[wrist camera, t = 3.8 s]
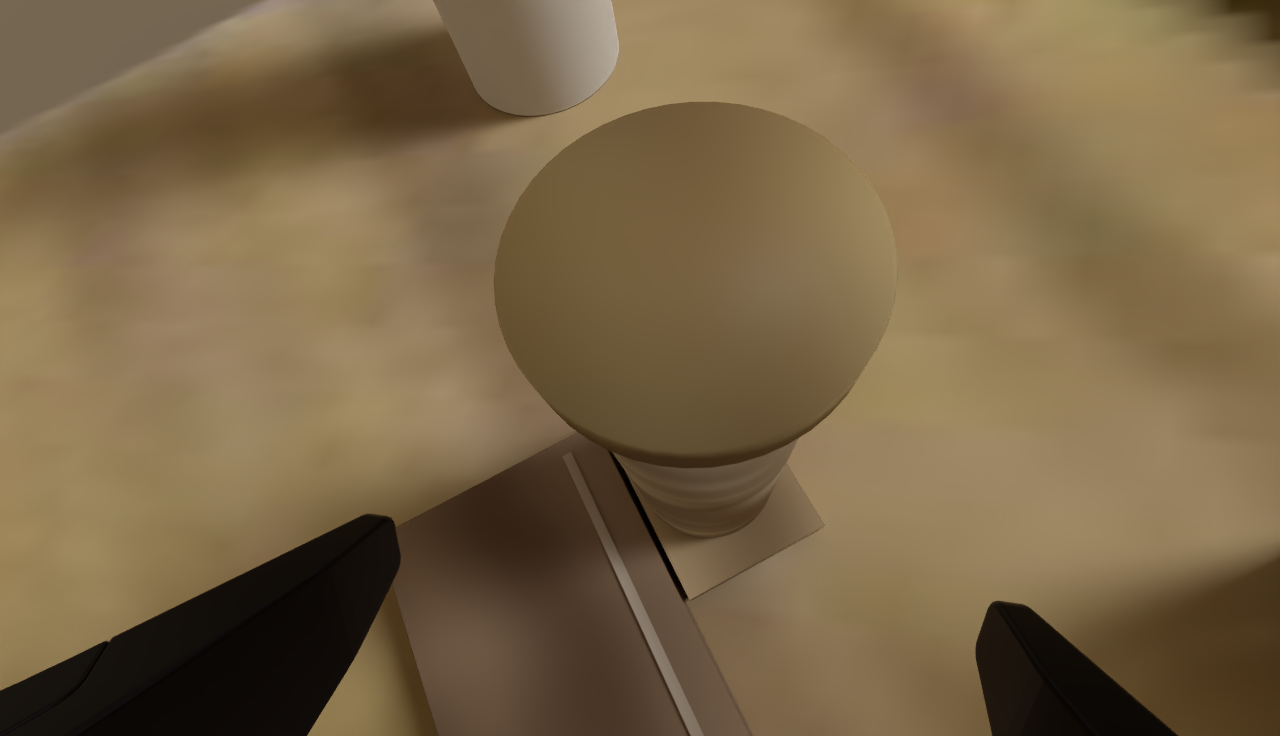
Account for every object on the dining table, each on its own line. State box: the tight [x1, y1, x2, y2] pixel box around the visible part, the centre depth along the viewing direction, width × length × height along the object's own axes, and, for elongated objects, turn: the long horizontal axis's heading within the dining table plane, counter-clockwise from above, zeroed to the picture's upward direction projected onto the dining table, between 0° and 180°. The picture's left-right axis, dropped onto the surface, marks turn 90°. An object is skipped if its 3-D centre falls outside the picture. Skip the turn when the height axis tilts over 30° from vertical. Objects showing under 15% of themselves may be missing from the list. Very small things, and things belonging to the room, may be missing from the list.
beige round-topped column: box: [494, 102, 898, 600], centre depth 13 cm, size 5×6×14 cm
